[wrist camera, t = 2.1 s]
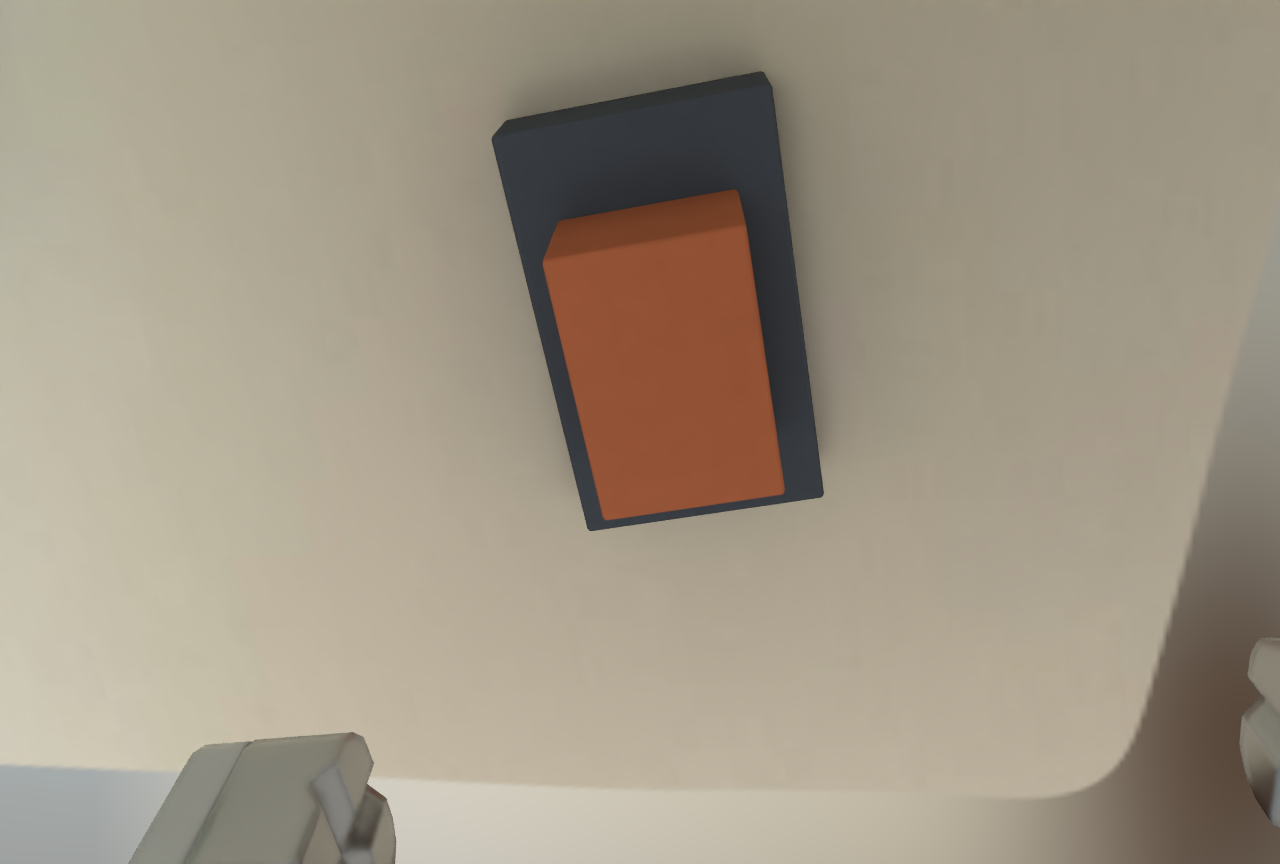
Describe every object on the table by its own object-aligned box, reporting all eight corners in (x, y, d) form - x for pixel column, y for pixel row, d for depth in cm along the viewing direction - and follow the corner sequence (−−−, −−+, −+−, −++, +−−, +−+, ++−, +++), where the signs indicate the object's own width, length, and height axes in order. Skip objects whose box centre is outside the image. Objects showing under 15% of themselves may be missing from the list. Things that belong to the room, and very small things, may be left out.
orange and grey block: (764, 70, 23) (785, 106, 19) (814, 460, 27) (842, 566, 23) (503, 120, 24) (464, 166, 19) (593, 493, 28) (578, 603, 23)
